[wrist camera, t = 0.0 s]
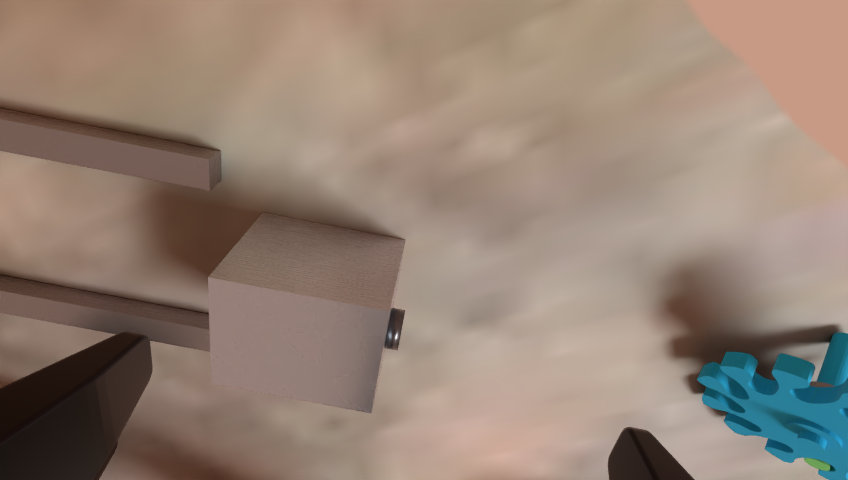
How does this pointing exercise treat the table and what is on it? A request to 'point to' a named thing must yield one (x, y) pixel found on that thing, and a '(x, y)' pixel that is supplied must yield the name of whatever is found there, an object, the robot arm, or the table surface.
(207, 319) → the channel
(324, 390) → the metal box with button
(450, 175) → the table surface
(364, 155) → the table surface
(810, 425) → the blue spiky piece
